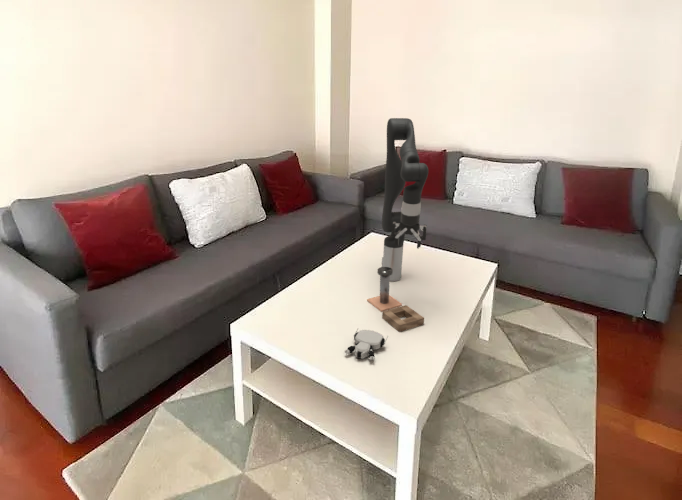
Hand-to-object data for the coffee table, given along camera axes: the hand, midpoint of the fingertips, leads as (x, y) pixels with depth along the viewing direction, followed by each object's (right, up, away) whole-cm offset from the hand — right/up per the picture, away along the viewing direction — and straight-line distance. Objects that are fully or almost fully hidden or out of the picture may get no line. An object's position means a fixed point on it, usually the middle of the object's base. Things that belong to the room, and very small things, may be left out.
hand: (407, 246), depth 193 cm
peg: (-9, -24, +8) cm, 27 cm away
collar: (-3, -30, -6) cm, 31 cm away
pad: (-9, -25, +8) cm, 28 cm away
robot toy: (-19, -38, -25) cm, 49 cm away
